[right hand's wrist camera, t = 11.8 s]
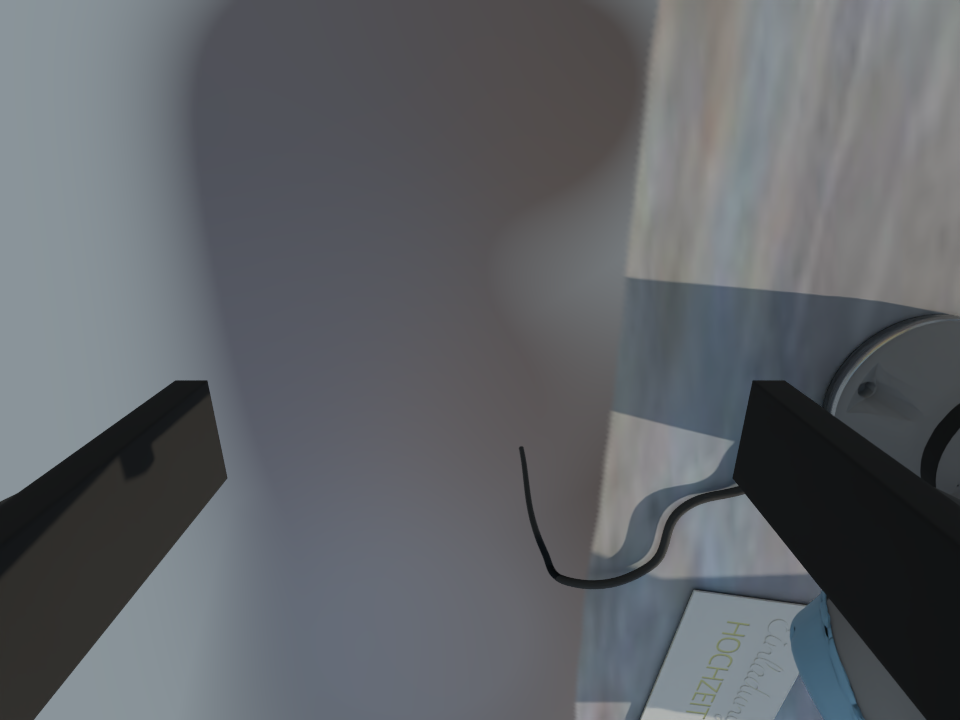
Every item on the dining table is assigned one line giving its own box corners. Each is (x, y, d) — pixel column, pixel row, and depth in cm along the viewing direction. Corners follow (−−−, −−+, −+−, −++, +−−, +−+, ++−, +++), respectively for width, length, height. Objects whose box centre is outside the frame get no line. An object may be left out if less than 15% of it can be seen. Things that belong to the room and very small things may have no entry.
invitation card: (694, 591, 52) (834, 610, 53) (693, 589, 52) (832, 608, 53) (636, 731, 60) (759, 746, 61) (635, 729, 60) (758, 744, 61)
